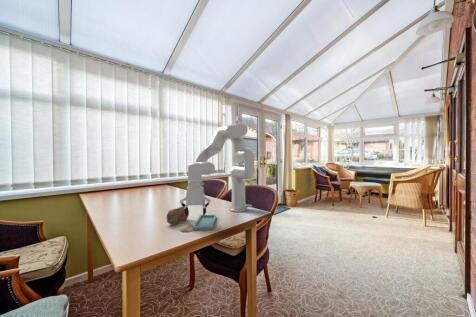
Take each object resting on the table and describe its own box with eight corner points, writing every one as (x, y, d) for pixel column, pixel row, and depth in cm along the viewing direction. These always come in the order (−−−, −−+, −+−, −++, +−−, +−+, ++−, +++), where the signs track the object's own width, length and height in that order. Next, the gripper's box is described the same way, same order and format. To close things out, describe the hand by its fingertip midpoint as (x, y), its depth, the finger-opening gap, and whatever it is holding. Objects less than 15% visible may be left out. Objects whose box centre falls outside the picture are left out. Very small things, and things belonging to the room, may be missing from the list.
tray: (216, 217, 126) (216, 214, 126) (212, 230, 105) (212, 226, 105) (200, 217, 126) (199, 214, 126) (192, 230, 105) (192, 226, 105)
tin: (169, 226, 111) (169, 211, 110) (165, 225, 112) (165, 210, 112) (189, 219, 124) (189, 205, 123) (185, 218, 125) (185, 204, 125)
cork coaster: (196, 226, 111) (196, 225, 111) (193, 232, 103) (193, 231, 103) (182, 226, 110) (182, 225, 110) (177, 232, 102) (177, 231, 102)
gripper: (211, 183, 119) (211, 212, 120) (181, 184, 119) (181, 213, 119) (209, 185, 112) (210, 216, 112) (177, 186, 111) (178, 217, 112)
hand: (195, 214), depth 116 cm, fingers open, 9 cm apart
